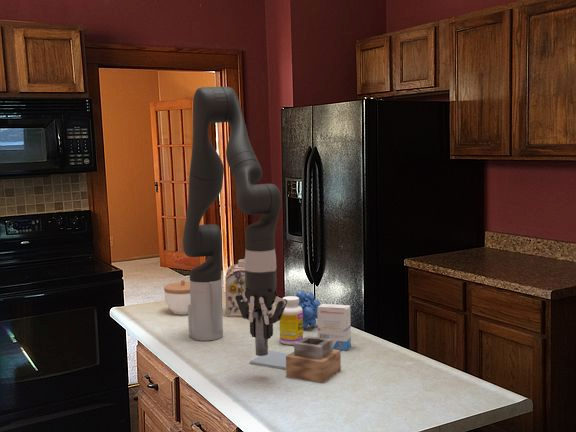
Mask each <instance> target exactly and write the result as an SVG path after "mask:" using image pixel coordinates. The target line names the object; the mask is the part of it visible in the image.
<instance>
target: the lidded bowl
mask: <svg viewBox="0 0 576 432" xmlns="http://www.w3.org/2000/svg"><path fill="white" fill-rule="evenodd" d="M163 291H164V299H165V303H166V306H167V307H168V309H169V310H170V311H171V312H173V314H174V315H179V316H182V315H183V316H185V315H187V316H188V305H190V304H191V299H190V281H185V279H181V280H180V282H179V281H178V282H172V283H168V284H166V285H164V287H163Z"/></svg>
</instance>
